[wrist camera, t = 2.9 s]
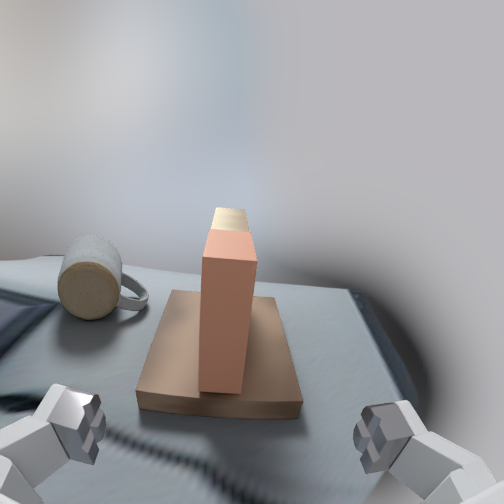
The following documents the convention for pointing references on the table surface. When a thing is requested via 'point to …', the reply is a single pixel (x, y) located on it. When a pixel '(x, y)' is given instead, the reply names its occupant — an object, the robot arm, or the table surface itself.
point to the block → (225, 309)
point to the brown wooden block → (187, 358)
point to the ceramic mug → (96, 280)
